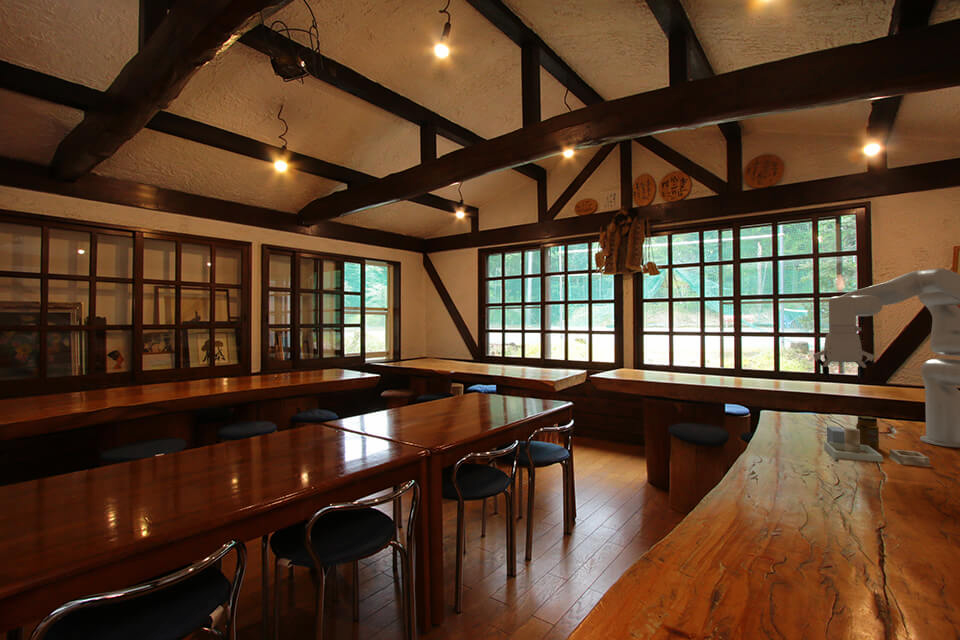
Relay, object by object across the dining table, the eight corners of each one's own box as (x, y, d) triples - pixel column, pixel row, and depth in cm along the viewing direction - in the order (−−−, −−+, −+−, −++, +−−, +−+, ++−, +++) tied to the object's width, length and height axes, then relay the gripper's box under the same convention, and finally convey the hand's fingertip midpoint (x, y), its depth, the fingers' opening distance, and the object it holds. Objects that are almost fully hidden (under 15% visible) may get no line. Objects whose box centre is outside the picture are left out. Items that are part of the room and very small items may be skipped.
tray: (868, 453, 153) (867, 445, 153) (882, 465, 141) (882, 455, 141) (824, 449, 158) (824, 441, 158) (835, 460, 147) (834, 451, 147)
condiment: (878, 449, 157) (878, 416, 157) (883, 455, 150) (882, 421, 150) (852, 446, 162) (851, 414, 162) (855, 452, 155) (855, 418, 154)
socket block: (919, 462, 143) (919, 451, 143) (931, 470, 136) (931, 458, 136) (887, 459, 147) (887, 448, 147) (898, 466, 139) (898, 455, 139)
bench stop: (840, 445, 162) (840, 427, 162) (846, 451, 156) (846, 431, 156) (827, 444, 164) (826, 426, 164) (832, 450, 157) (832, 430, 157)
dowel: (857, 454, 150) (857, 428, 150) (862, 457, 147) (861, 431, 147) (843, 453, 152) (842, 427, 152) (847, 456, 148) (846, 430, 148)
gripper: (869, 330, 156) (870, 377, 156) (810, 330, 163) (811, 375, 163) (877, 330, 149) (878, 380, 149) (815, 331, 156) (816, 378, 157)
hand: (843, 378), depth 156 cm, fingers open, 9 cm apart
